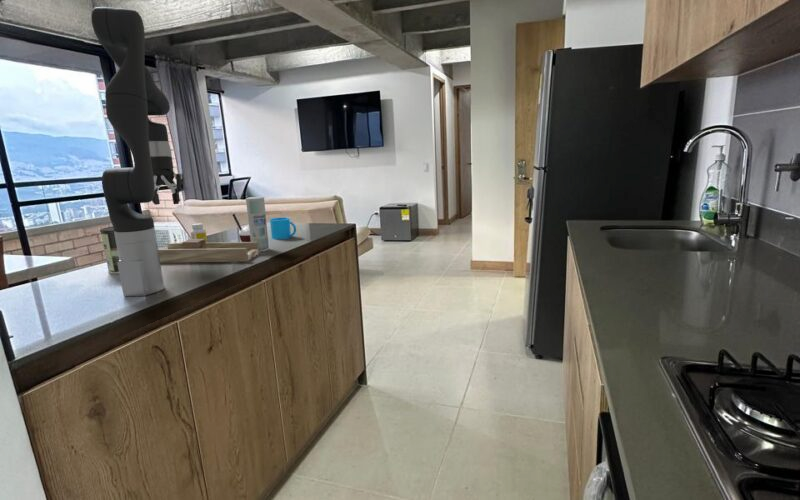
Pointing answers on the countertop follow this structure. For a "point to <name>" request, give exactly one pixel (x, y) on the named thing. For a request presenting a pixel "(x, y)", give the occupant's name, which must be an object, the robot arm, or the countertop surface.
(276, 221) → the mug
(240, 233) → the cocoa
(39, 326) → the countertop surface
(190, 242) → the walnut block
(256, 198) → the spray can
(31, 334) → the countertop surface
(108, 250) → the coffee can
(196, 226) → the supplement bottle
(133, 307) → the countertop surface
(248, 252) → the frame
